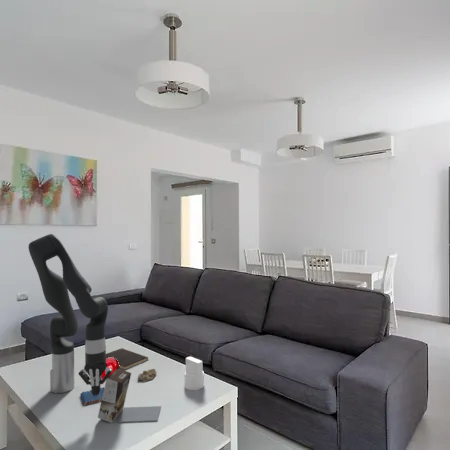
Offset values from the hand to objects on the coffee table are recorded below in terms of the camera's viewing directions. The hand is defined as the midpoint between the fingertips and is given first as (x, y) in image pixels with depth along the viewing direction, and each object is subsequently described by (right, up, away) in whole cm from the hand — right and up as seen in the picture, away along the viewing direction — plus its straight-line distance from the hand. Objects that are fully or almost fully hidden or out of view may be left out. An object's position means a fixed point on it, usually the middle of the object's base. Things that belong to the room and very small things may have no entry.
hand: (96, 394), depth 132 cm
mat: (+17, -9, +2) cm, 19 cm away
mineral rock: (+12, -10, +35) cm, 39 cm away
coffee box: (+5, -9, +2) cm, 10 cm away
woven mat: (-7, -10, +16) cm, 20 cm away
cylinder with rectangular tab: (+36, -9, +26) cm, 45 cm away
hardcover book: (-6, -10, +57) cm, 58 cm away
